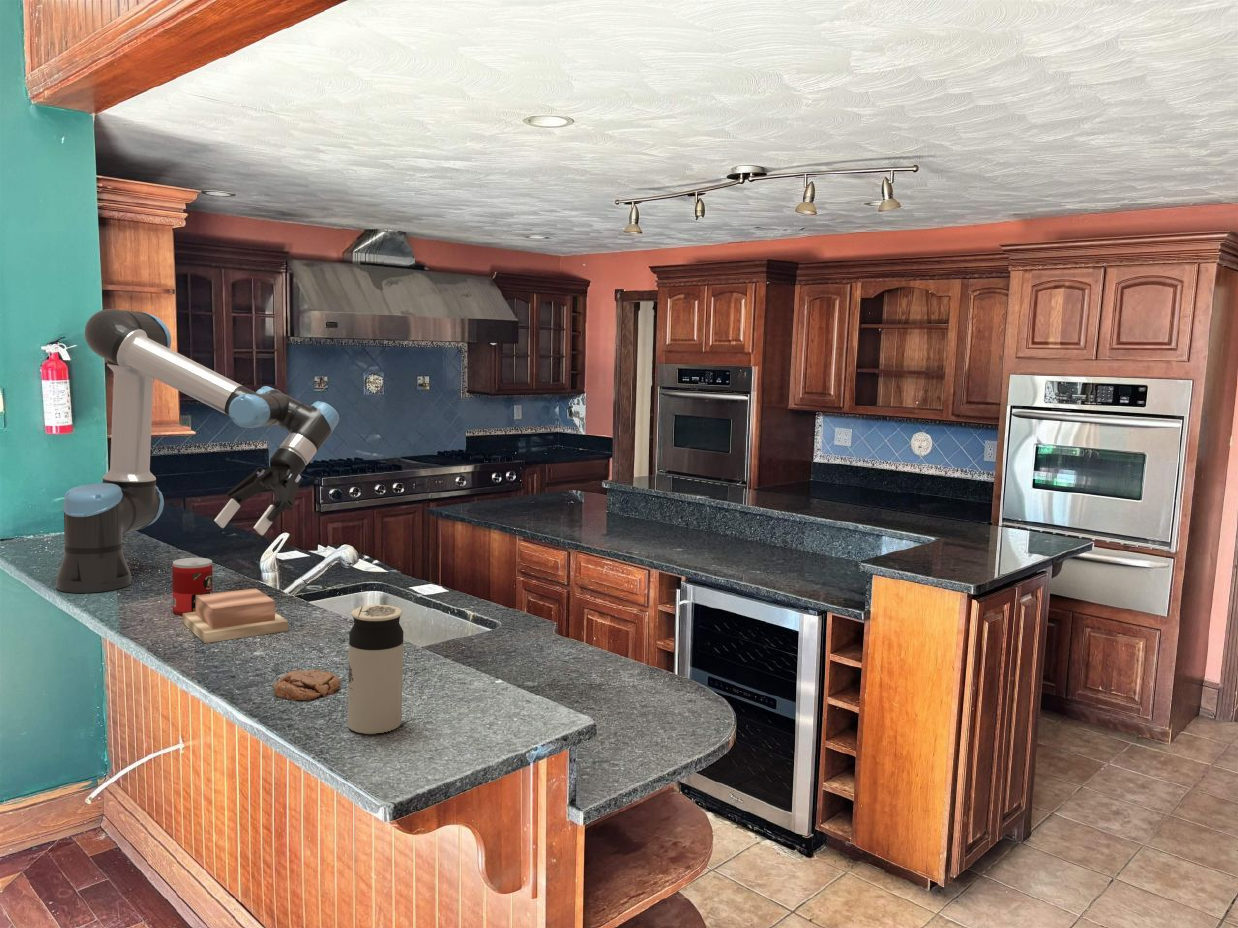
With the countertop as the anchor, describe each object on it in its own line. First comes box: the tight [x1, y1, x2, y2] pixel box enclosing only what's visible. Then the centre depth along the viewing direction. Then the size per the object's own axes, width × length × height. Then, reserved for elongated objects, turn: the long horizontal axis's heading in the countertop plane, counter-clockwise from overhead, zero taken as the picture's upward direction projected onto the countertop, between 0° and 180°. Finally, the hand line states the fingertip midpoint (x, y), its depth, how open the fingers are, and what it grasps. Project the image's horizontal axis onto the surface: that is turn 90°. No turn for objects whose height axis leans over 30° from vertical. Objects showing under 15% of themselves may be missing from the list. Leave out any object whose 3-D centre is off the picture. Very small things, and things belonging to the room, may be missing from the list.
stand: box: [182, 587, 289, 644], centre depth 183 cm, size 16×16×6 cm
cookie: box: [273, 669, 341, 701], centre depth 150 cm, size 10×11×3 cm
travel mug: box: [347, 604, 405, 735], centre depth 136 cm, size 8×8×18 cm
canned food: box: [171, 557, 213, 616], centre depth 192 cm, size 8×8×11 cm
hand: (237, 528), depth 200 cm, fingers open, 13 cm apart
